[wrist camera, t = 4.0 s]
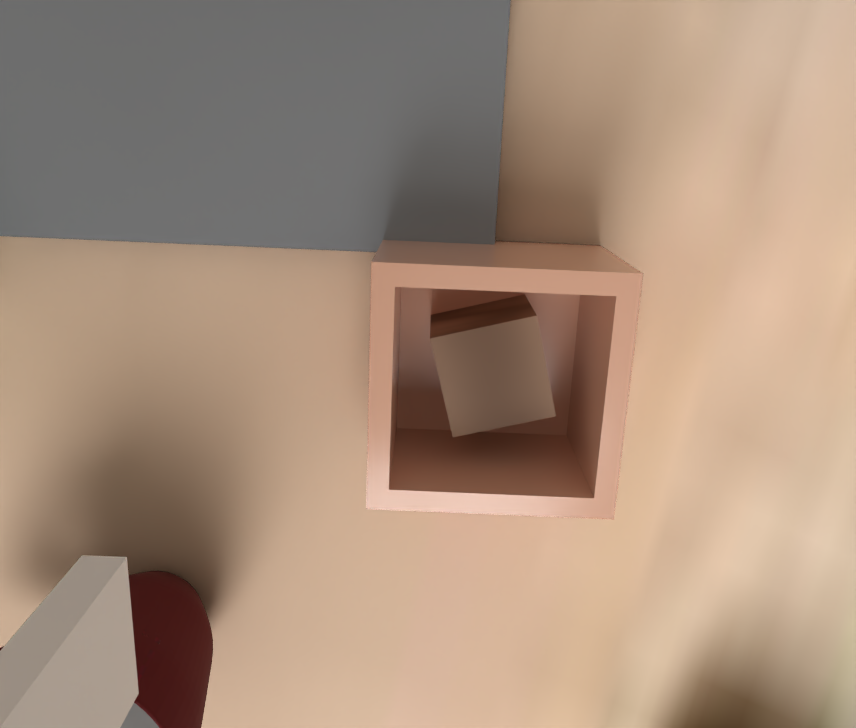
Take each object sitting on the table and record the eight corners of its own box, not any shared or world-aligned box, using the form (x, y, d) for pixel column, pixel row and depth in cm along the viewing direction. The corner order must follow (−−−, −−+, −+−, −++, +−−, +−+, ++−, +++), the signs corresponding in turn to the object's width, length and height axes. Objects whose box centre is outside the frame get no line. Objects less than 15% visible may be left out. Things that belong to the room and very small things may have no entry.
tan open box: (379, 437, 35) (366, 508, 28) (384, 236, 33) (371, 261, 26) (579, 446, 35) (613, 519, 28) (600, 245, 33) (642, 273, 26)
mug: (60, 697, 39) (-62, 880, 30) (4, 557, 37) (-148, 704, 27) (263, 663, 38) (206, 838, 29) (219, 517, 36) (140, 654, 27)
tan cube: (450, 403, 34) (452, 437, 30) (430, 314, 33) (429, 338, 29) (542, 384, 33) (555, 416, 30) (524, 294, 32) (536, 315, 29)
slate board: (14, 232, 33) (-2, 236, 31) (-34, -214, 28) (-54, -229, 27) (491, 252, 33) (493, 257, 32) (520, -190, 28) (523, -204, 27)
